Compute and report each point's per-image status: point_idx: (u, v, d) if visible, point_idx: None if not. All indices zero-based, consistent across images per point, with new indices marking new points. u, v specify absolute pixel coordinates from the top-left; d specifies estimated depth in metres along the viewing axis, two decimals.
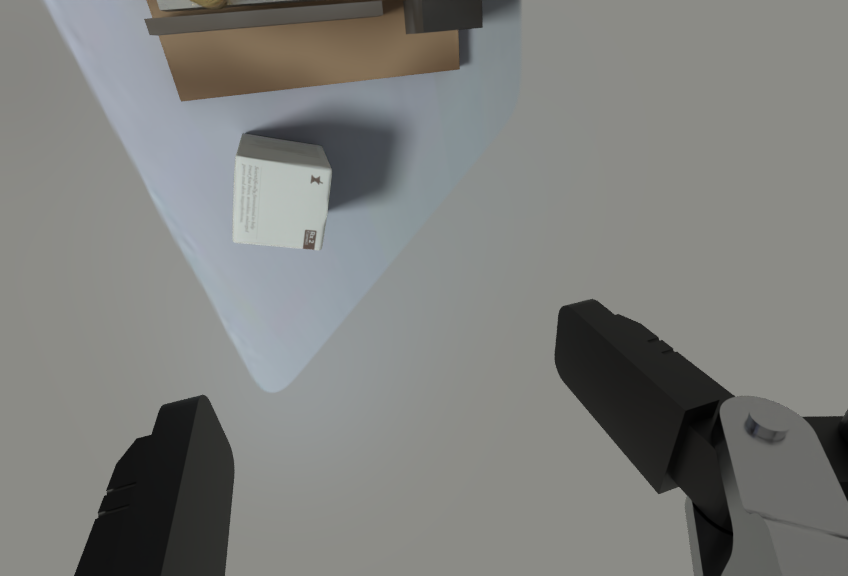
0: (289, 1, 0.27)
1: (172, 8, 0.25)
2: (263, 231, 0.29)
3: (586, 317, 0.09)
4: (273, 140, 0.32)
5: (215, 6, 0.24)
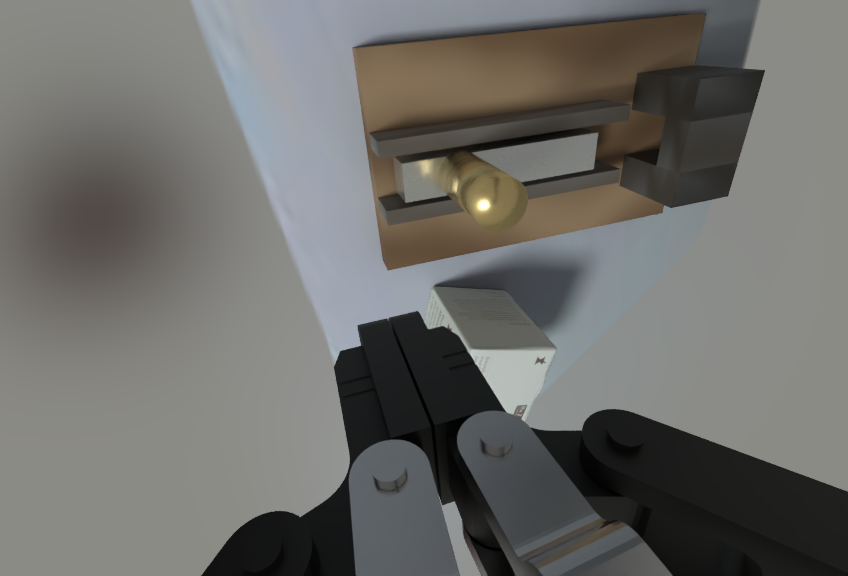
0: None
1: (417, 199, 0.22)
2: None
3: (399, 330, 0.10)
4: (467, 295, 0.30)
5: None
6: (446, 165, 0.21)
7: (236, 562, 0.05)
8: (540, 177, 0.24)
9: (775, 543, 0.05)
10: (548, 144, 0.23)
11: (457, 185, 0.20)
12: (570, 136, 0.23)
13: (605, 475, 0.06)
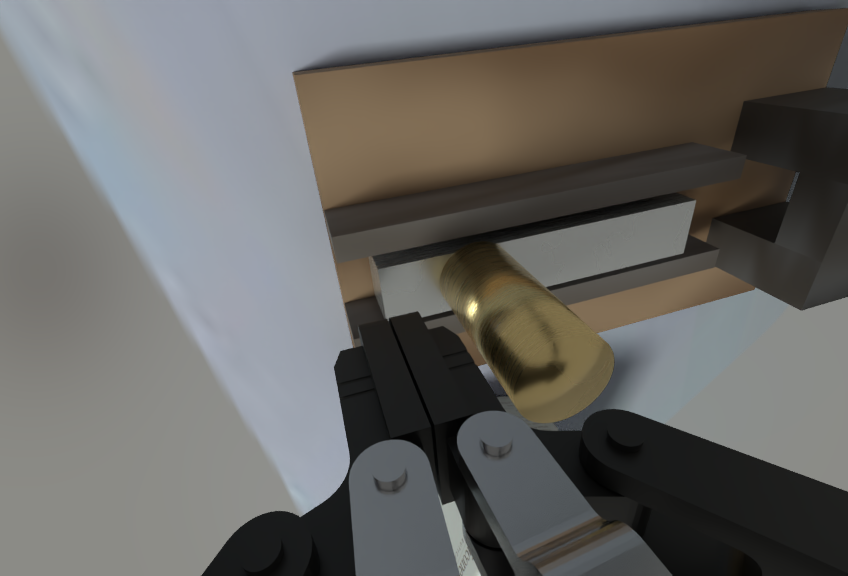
0: None
1: None
2: None
3: (399, 330, 0.10)
4: None
5: None
6: (454, 271, 0.12)
7: (236, 562, 0.05)
8: (603, 271, 0.15)
9: (775, 543, 0.05)
10: (619, 222, 0.14)
11: (475, 323, 0.11)
12: (653, 208, 0.14)
13: (605, 475, 0.06)
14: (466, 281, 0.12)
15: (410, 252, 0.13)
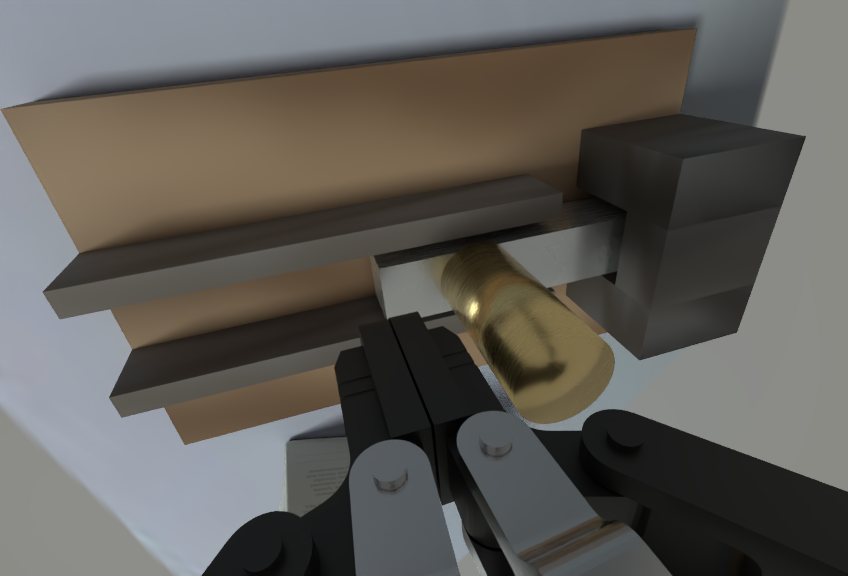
0: None
1: None
2: None
3: (398, 330, 0.10)
4: (337, 456, 0.20)
5: None
6: (455, 271, 0.12)
7: (236, 562, 0.05)
8: (604, 272, 0.15)
9: (775, 543, 0.05)
10: (621, 223, 0.14)
11: (475, 323, 0.11)
12: None
13: (605, 475, 0.06)
14: (467, 281, 0.12)
15: (411, 252, 0.13)
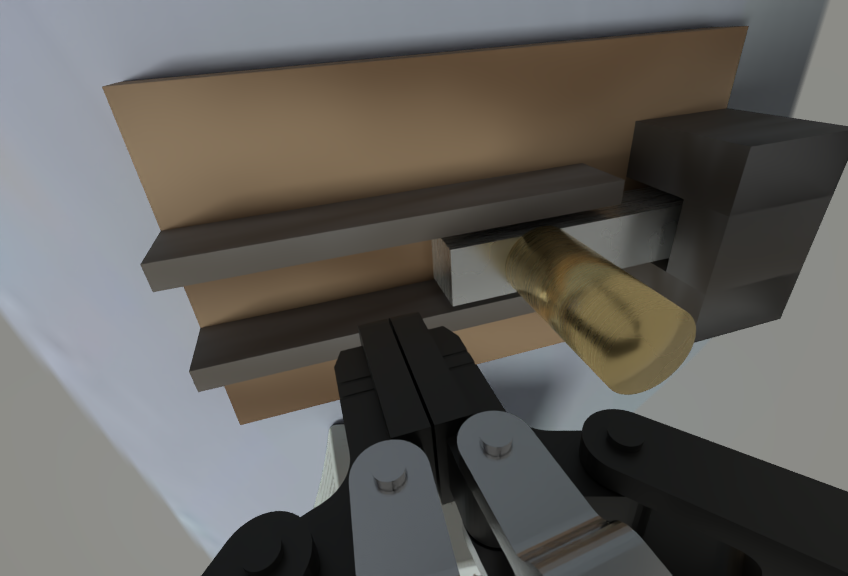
0: None
1: (471, 300, 0.14)
2: None
3: (399, 330, 0.10)
4: None
5: None
6: (524, 253, 0.13)
7: (236, 562, 0.05)
8: (655, 259, 0.15)
9: (775, 543, 0.05)
10: (674, 211, 0.15)
11: (553, 300, 0.11)
12: None
13: (605, 475, 0.06)
14: (539, 262, 0.12)
15: (478, 235, 0.14)
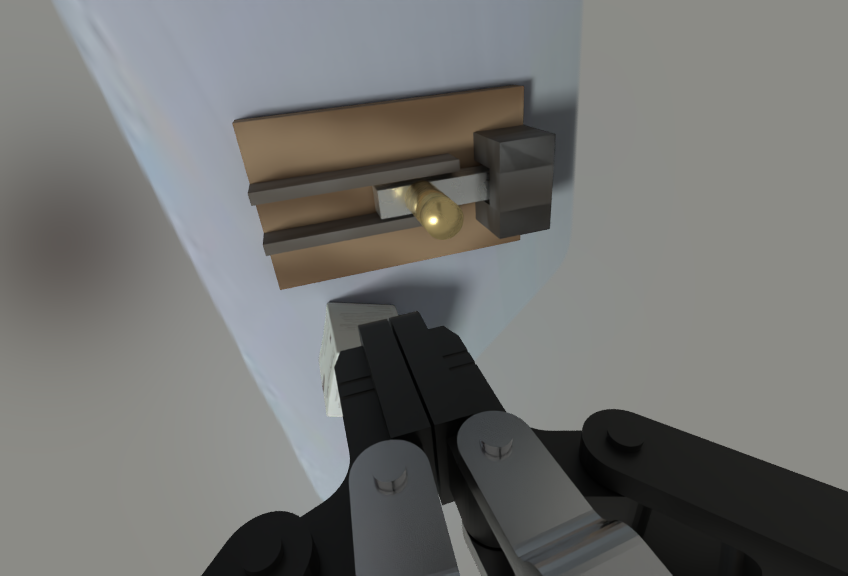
0: None
1: (390, 216, 0.30)
2: None
3: (399, 330, 0.10)
4: (355, 309, 0.36)
5: None
6: (410, 191, 0.29)
7: (236, 562, 0.05)
8: (484, 199, 0.32)
9: (775, 543, 0.05)
10: (488, 174, 0.31)
11: (415, 207, 0.27)
12: None
13: (605, 475, 0.06)
14: (414, 193, 0.28)
15: (391, 185, 0.30)
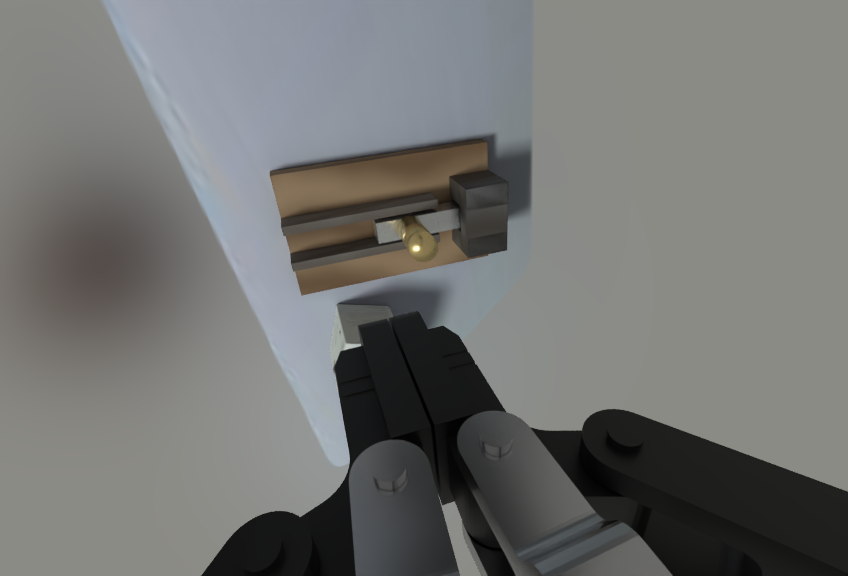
0: None
1: (385, 241, 0.40)
2: None
3: (399, 330, 0.10)
4: (358, 309, 0.46)
5: None
6: (400, 224, 0.39)
7: (236, 562, 0.05)
8: (456, 227, 0.42)
9: (775, 543, 0.05)
10: (459, 209, 0.41)
11: (404, 237, 0.37)
12: None
13: (605, 475, 0.06)
14: (403, 226, 0.38)
15: (386, 218, 0.40)
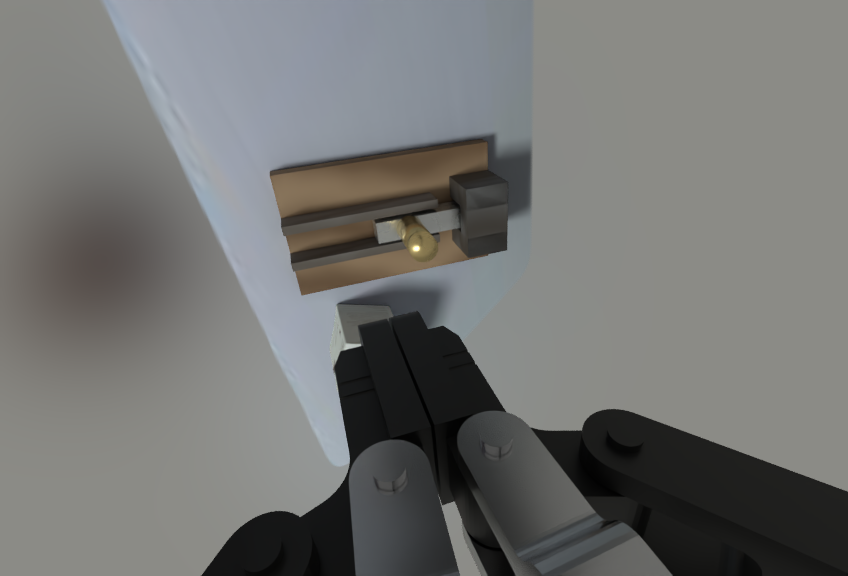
0: None
1: (385, 241, 0.40)
2: None
3: (399, 330, 0.10)
4: (358, 309, 0.46)
5: None
6: (400, 224, 0.39)
7: (236, 562, 0.05)
8: (456, 227, 0.42)
9: (775, 543, 0.05)
10: (459, 209, 0.41)
11: (404, 237, 0.37)
12: None
13: (605, 475, 0.06)
14: (403, 226, 0.38)
15: (386, 218, 0.40)
